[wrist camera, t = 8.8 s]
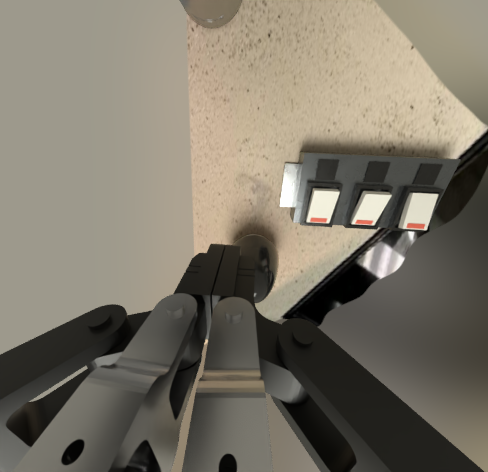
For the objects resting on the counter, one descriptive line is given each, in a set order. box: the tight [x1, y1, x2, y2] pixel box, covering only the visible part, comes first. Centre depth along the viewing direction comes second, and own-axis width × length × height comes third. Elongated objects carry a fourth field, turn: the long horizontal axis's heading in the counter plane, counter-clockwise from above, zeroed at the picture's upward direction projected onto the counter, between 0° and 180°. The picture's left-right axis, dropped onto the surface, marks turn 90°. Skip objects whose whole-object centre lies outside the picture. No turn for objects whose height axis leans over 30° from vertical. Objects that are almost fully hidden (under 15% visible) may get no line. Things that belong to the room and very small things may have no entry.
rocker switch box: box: [280, 152, 460, 232], centre depth 34 cm, size 12×29×5 cm, turn 88°
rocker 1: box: [305, 188, 340, 223], centre depth 33 cm, size 6×4×1 cm, turn 178°
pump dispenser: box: [233, 234, 279, 303], centre depth 36 cm, size 10×10×15 cm
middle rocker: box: [350, 191, 392, 225], centre depth 33 cm, size 6×4×1 cm, turn 178°
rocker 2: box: [398, 193, 438, 230], centre depth 32 cm, size 6×4×1 cm, turn 178°
